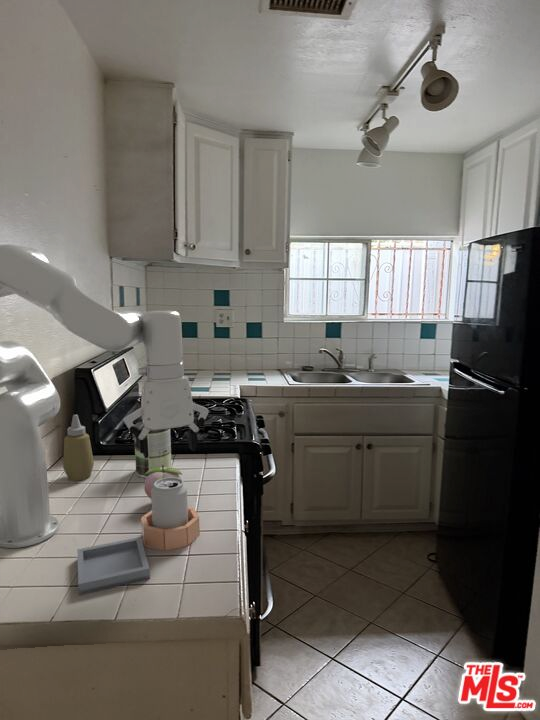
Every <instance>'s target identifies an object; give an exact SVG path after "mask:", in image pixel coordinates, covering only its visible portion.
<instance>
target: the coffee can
mask: <svg viewBox="0 0 540 720" xmlns="http://www.w3.org/2000/svg"><path fill="white" fill-rule="evenodd" d="M142 425H143V422H142V421H139V422H136V423H135V424H134V426H136V427H137V428H138V429H140V428H141V426H142ZM133 436H134V437H133V438H134V440H133V441H134V456H135V475H136V477H139V478H142V479H143V478H144V479H146V477H147V476H148V474H147V475H144V474H145V473H146V472H147V471H149V470H151V469H154V468H162V465H163V467H167V468H173V466H172V447H171V446H172V443H171V428H168V429H160V430H150V431H149V432H148V434H147V435H146V438H147V440H148V454H149V457H148V458H145V457H144V455H143V453H140V446H139V438H138V437H137V436H135V435H134V434H133ZM149 474H150V473H149Z"/></svg>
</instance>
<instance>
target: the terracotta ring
mask: <svg viewBox="0 0 540 720" xmlns="http://www.w3.org/2000/svg"><path fill="white" fill-rule="evenodd" d="M140 521H141V527H140V528H141V539H142V542H143V545H144V547H147V548H151V549H155V550H159V551H165V552H166V551H170V550H174V549H179V548H180V549H181V548H184V547H188V546H189V545H191V543H193V542H194V541H195V540H196V539H198V537H199V536H200V533H201V532H200V516H199V514H198V513H197V510H196V509H195V508H194V507H191V506H188V523H187V524H186V525H185V526H181V527H176V528H170V529H160V528H155V527H153V525H152V509H151V510H150V511H148V512H147V513H146V514H144V515H142V516H141V518H140Z"/></svg>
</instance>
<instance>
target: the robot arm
mask: <svg viewBox="0 0 540 720" xmlns="http://www.w3.org/2000/svg"><path fill="white" fill-rule="evenodd" d="M10 295H17V296H18V297H21V298H23V299H24V300H26V301H28V302H30V303H32V304H33V305H36V306H37V307H39V308H41V309H43V310H45V311H46V312H48V313H49V314H51V315H52V316H53V318H54V319H55V320H56V321H58V322H59V324H60V325H61V326H62V327H64V328H65V329H66V330H68V331H69V332H70V333H72V334H74V335H76V336H77V337H79V338H81V339H83V340H84V341H87V342H89V343H90V344H91V345H94V346H96V347H98V348H100V349H103V350H106V351H109V352H119V351H123V350H126V349H129V348H133V347H136V346H140V345H143V348H144V350H143V351H144V362H145V363H144V365H143V366H141V367H138V368H137V372H138V375H139V376H141V375H142V376H145V378H144V379H143V380H142V386H141V399H140V400H141V402H140V403H141V405H140V408H138V409H136V410H134V411H133V412H131V413H129V414H127V415H126V416H125V417H124V418H123V422H124V424H125V426H126V427H127V428H128V430H129V431H130V433H131V434H133V436H134V435H135V436H137V437H138V438H139V446H140V453H143V455H144V457H145V458H148V457H149V454H148V440H147V438H146V435H147V434H148V432H149V431H150V430H160V429H168V428H170V429H175V428H182V427H189V428H188V430H187V435H188V436H187V437H188V448H189V449H190V450H191V451H192V452H196V446H198V432H199V430H200V428H201V427H202V426H203V425H204V423H205V422H206V419H207V416H208V414H209V412H210V410H209V409H208V408H206V407H205V406H202V405H200V404H198V403H194V402H193V395H192V390H191V389H192V388H191V385H190V380H189V377H188V376H187V375H185V373H184V372H185V371H184V353H183V351H184V349H183V333H182V332H183V331H182V318H181V315H180V313H179V312H178V311H176V310H150V311H141V310H134V309H133V310H132V309H131V310H130V309H125V310H114V309H113V310H112V309H111V308H109V307H108V306H105V305H103V304H102V303H100V302H98V301H96V300H94V299H92V298H90V297H89V296H88V295H86V294H85V293H83V291H81V290H80V289H79V288H78V285H77V280H76V278H75V277H74V276H72V275H71V274H69V273H67V272H65V271H63V270H61V269H59V268H58V267H56V266H55V265H52V264H51V263H50V261H49V259H48V258H47V257H46V255H44V254H43V253H42V252H41V251H39V250H37V249H35V248H32V247H27V246H22V245H15V244H9V243H8V244H0V298H5V297H7V296H10ZM1 388H6V390H7V391H4V392H2V393H0V548H6V549H17V548H24V547H29V546H33V545H36V544H39V543H42V542H44V541H46V540H48V539H49V538H51V537H53V535H55V534H56V533H57V532H58V530H59V528H60V522H59V520H58V518H56V517H55V516H53V515H51V509H50V507H51V506H50V496H49V495H50V493H49V484H48V481H49V480H48V471H47V470H48V468H47V460H46V459H47V457H46V450H45V445H44V442H43V439H42V437H41V435H40V432H39V427H41V426H42V425H44V424H47V423H48V422H49V421H52V419H54V417H56V416H57V415H58V413H59V411H60V408H61V397H60V394H59V392H58V390H57V388H56V386H55V385H54V383H53V382H52V380H51V379H50V378H49V375H47V373H46V371H45V370H44V368H43V366H42V365H41V363H39V361H38V360H37V358H36V357H35V355H34V354H33V352H31V351H30V349H29V348H27V347H26V346H24V345H23V344H21V343H19V342H16V341H12V340H11V341H10V340H5V341H0V389H1ZM194 411H195V412H198V413H199V416H198V417H197V418H196V420H195V412H194ZM140 417H141V422H143V425H142V426H141V428H140V429H138V428H137V427H136V426H134V425H135V424H134V423H133V422H134V421H135V420H137V419H139V418H140Z"/></svg>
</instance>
